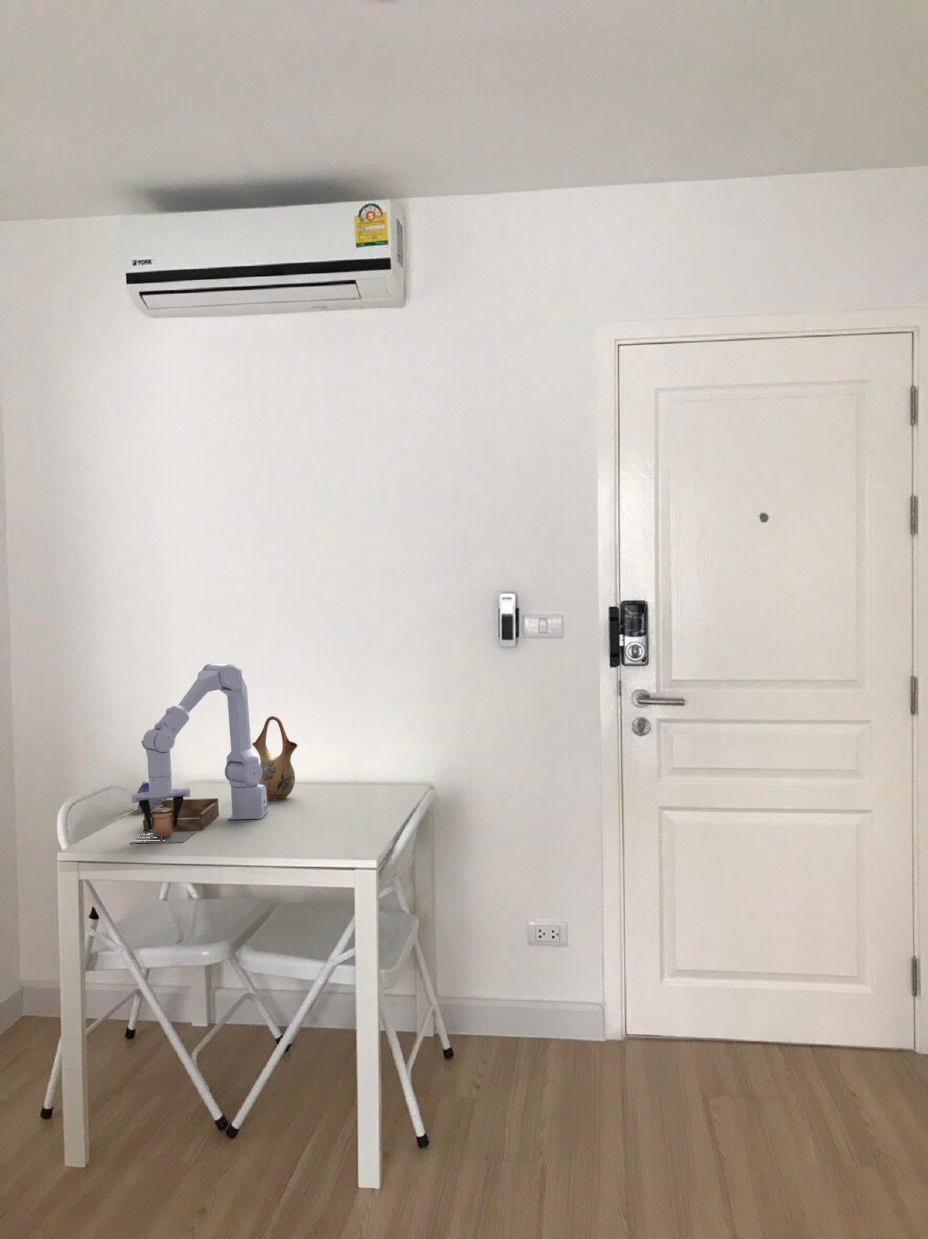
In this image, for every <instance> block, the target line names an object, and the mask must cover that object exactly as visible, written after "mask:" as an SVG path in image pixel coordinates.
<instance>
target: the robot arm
mask: <svg viewBox="0 0 928 1239" xmlns="http://www.w3.org/2000/svg"><path fill="white" fill-rule="evenodd" d="M242 672H243V671H242V669H240V668H239V667H238V666H236V665H235V664H234V663H228V664H224V663H222V664H221V663H215V662H214V663H213V662H208V663H207V664H205V665H204V666H203V668H202V669H201V670H200V671H199V672H198V674H197V677H196V679H195V681H194V683H193V684H192V686H190V688H189V690H188V691H187V692H186V693H185V695H184V697H183V698H181V699H182V700H181V701H180V702H179V704H178V705H172V706H171V707H168V708H166V710H165V711H164V712H165V714H163V716H162V717H161V719H160V720H159V721H158V722H156V723H155V725H154V727H153V728H150V729H147V731H145V734H144V735H143V739H142V740H141V745H142V747H143V749H145V751H146V752H145V753H146V754H145V755H146V757H147V774H148V783H149V792H144V793H138V794H137V793H132V794H131V795H130V796H131V797H130V798H131V803H132V804H136V803H138V804H139V805H140V807H141V809H142V810H141V812H142V813H143V815H145V817H146V820H147V823H148V828H149V830H150V829H152V826H151V819H150V811H151V809H150V804H149V801H152V800H161V799H166V800H167V799H173V809H174V818H173V822H174V827H175V826H177V820H178V815H179V812H180V809H181V806H182V804H183V801H184V799H185V797H186V798H190V797H191V789H190V788H189V787H188V788H173V781H172V778H173V777H172V760H171V750H172V749H173V748H174V746H175V743H176V741H175V740H176V737H177V735H178V734H179V733H180V731H181V730H182V729H183V728H184V727H185V725H186V724H187V723H188V722H189V721H190V713H191V711H192V710H193V709H194V708H195V707H196V706H197V704H198V703H200V701H201V700H202V699H203V698H204V697H205V696H206V695H207V694H208V693H210V692H215V691H217V690H219V691H220V692H221V693H223V694H224V695H226V697H227V710H228V725H229V738H230V752H229V754H228V755H227V756H226V765H225V768H224V776H225V778H226V780H227V781H228V782H229V785H230V793H231V794H230V795H231V815H229V816H228V817H227V819H228V820H260V819H263V818H264V816H266V815H267V814H268V812H269V809H268V797H267V792H266V786H265V785H260V784H259V783H258V782H259V781H260V779H261V777H262V768H261V766H260V761H259V760H260V759H259V757H258V755H257V754H256V753H255V751H253V750H252V739H251V728H250V726H251V725H250V712H249V711H250V709H249V697H248V696H249V695H248V687H247V684H246V681H245V680H244V678H243V673H242Z"/></svg>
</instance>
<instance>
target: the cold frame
mask: <svg viewBox="0 0 928 1239" xmlns="http://www.w3.org/2000/svg"><path fill="white" fill-rule="evenodd" d="M183 799H184V801H183V804H182V806H181V809H180V812H179V815H178V817H182V818H178V820H177V826H175V827H174V822H173V818H172V828H173V831H202V830H204V829H205V828H206V827H208V826H209V825H210V824H211V823H213V821H215V820H216V819H217V818H219V816H220V811H219V798H216V797H211V798H209V797H208V798H205V797H204V798H183ZM158 808H171V809H173V798H170V799H166V800H161V804H160V805H159V806H157V807H156V808H154V809H158ZM154 809H153V810H154ZM173 810H174V809H173ZM151 811H152V810H150V812H151ZM143 815H144V814H143ZM172 817H174V815H173V816H172ZM150 819H151V826H152V817H150ZM142 825H143V826H142V828H143V831H144V830H149V828H148V823H147V820H146V817H145V815H144V816H143V819H142ZM150 830H152V829H150Z"/></svg>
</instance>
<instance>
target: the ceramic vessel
mask: <svg viewBox="0 0 928 1239" xmlns="http://www.w3.org/2000/svg"><path fill="white" fill-rule="evenodd" d="M271 721H275V722H276V723H277V725H278V728H279V731H280V735H281V742H282V748H281V749H282V750H281V753H280V754H279V755H278V756H276V755H273V754H272V753H271V752H270V751H269V749H268V747H267V735H268V728H269V725H270V722H271ZM286 733H287V732H286V730H285V728H284V724H283V723H282V721H281V719H280V718H279V717H278V716H275V715H272V716H271V715H270V716H269V717H267V718H266V720H265V722H264V726H263V727H262V730H261V732H260V734H259V735H258V737H257V738H256V740H255V741H254V742H251V746H252V747H254V749H255V750H256V751H257V753H258V755H259V758H260V759H259V760H260V761H259V764H260V766H261V768H262V777H261V779H260V781H259V782H258V784H260V785H265V786H266V792H267V799H270V800H272V799H281V800H284V799H286V798H288V797H289V796H290V794H291V793H292V791H293V789H294V788H295V787H294V786H295V783H296V775H295V769H294V768H293V764H292V761H291V758H292V755H293V752H294V751H295V750H296V749H297V748H298V747H299V745H298V744H297V743H296V742H295V741H290V740H289V738H288V735H287V734H286Z"/></svg>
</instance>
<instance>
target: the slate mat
mask: <svg viewBox="0 0 928 1239" xmlns="http://www.w3.org/2000/svg"><path fill="white" fill-rule="evenodd" d="M195 834H196V831H173V833H172V834H171V835H169V836H165V837H162V838H161V837H157V838H153V837H156V836H153V834H150V835H146V834H145V835H143V833H142V834H140V835H139V836H138V837H139V838H138V837H136V838H134V840H160V841H145V842H144V841H141V842H140V841H139V842H137V841H135V842H134V841H133V840H132V841H133V842H132V841H130V843H131V844H130V845H138V844H137V843H143V844H142V845H145V844H144V843H153V844H183V843H185V842H186V841H187V840H189V838H191V837H192V836H194V835H195ZM140 837H141V838H140ZM142 837H145V838H142ZM146 837H150V838H146ZM163 840H165V841H163Z"/></svg>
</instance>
